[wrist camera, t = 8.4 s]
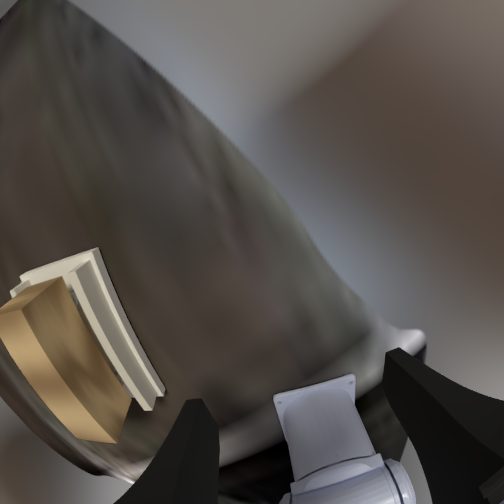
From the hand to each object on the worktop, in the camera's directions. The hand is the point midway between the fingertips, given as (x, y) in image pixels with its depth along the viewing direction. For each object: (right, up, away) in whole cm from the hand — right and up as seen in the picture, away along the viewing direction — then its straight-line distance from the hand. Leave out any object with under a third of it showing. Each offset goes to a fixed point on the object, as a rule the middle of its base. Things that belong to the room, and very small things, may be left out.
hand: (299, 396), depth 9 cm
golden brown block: (-16, -2, +8) cm, 18 cm away
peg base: (-16, -2, +11) cm, 19 cm away
